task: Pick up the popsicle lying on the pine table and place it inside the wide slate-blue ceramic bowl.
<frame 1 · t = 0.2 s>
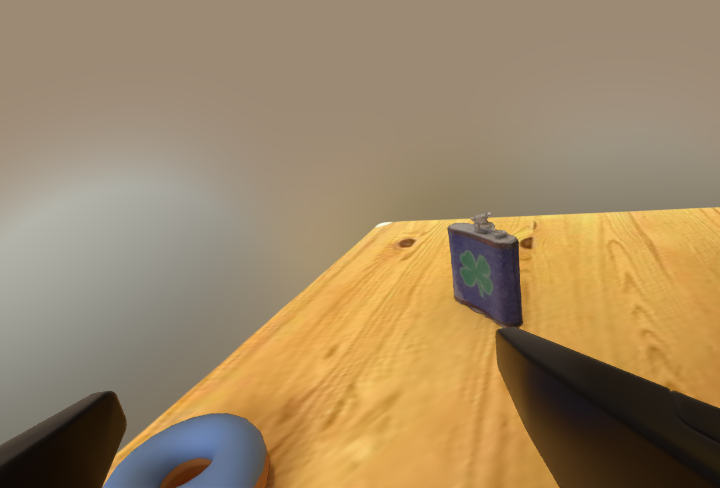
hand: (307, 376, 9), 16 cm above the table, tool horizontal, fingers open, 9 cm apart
flask: (487, 310, 41), on the table
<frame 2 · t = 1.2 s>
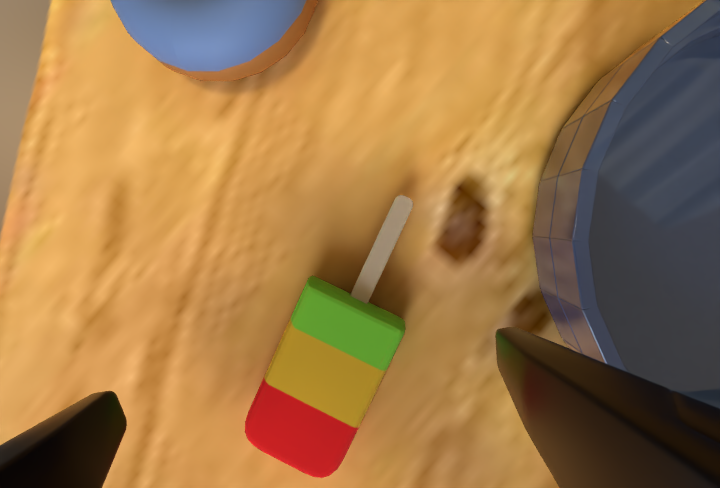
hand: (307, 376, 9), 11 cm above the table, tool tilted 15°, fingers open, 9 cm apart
doughnut: (238, 1, 20), on the table
popsicle: (347, 324, 21), on the table
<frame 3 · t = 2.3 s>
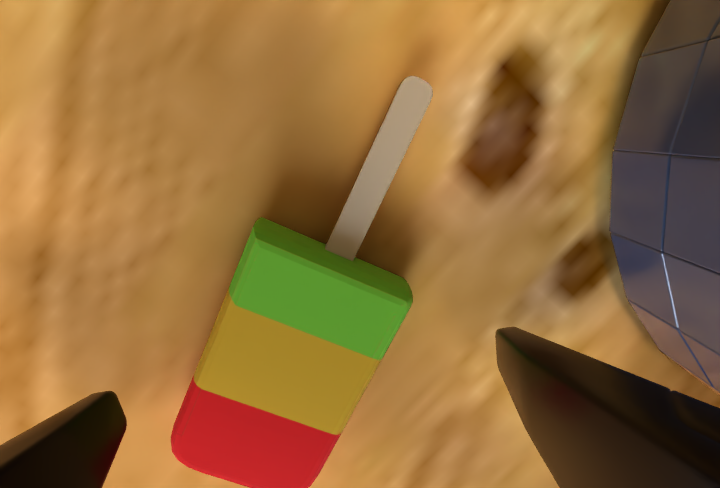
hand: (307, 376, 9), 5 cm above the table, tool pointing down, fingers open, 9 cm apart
popsicle: (319, 287, 14), on the table
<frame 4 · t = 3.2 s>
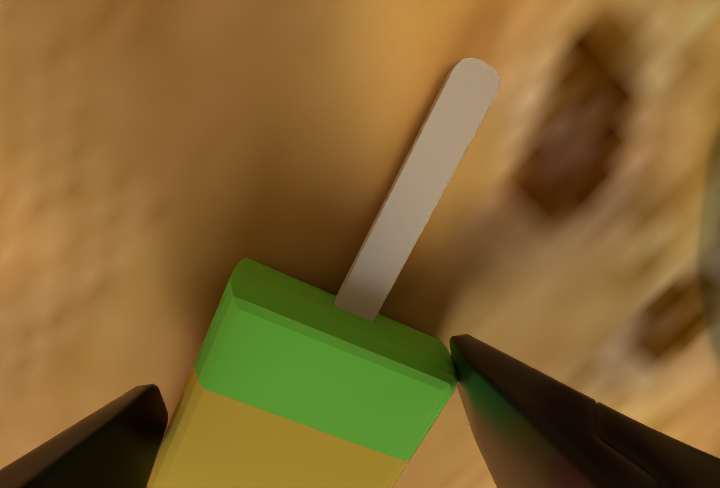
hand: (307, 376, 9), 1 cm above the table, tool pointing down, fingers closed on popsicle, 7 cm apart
popsicle: (324, 348, 10), on the table, touching gripper
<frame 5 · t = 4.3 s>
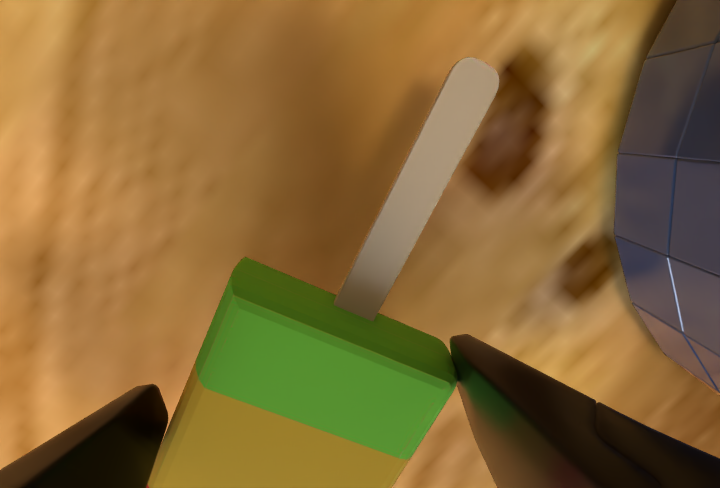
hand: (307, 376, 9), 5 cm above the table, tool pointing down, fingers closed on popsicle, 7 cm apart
popsicle: (324, 348, 10), point 3 cm above the table, touching gripper
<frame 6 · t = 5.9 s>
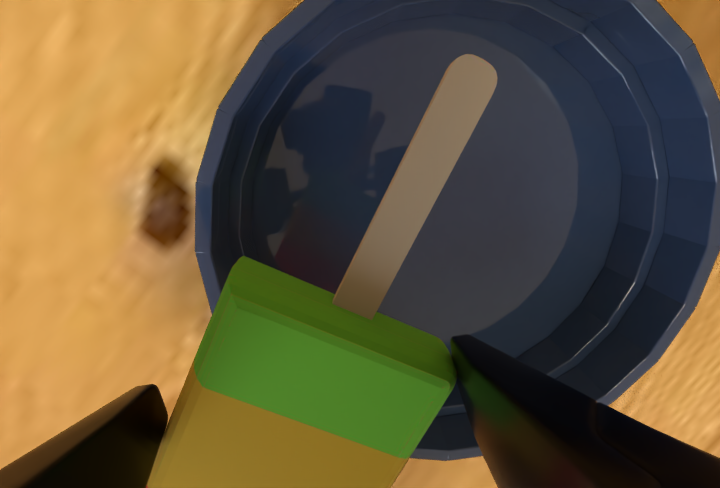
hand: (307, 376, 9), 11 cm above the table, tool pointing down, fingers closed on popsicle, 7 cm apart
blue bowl: (435, 220, 19), on the table
popsicle: (323, 347, 10), point 10 cm above the table, touching gripper
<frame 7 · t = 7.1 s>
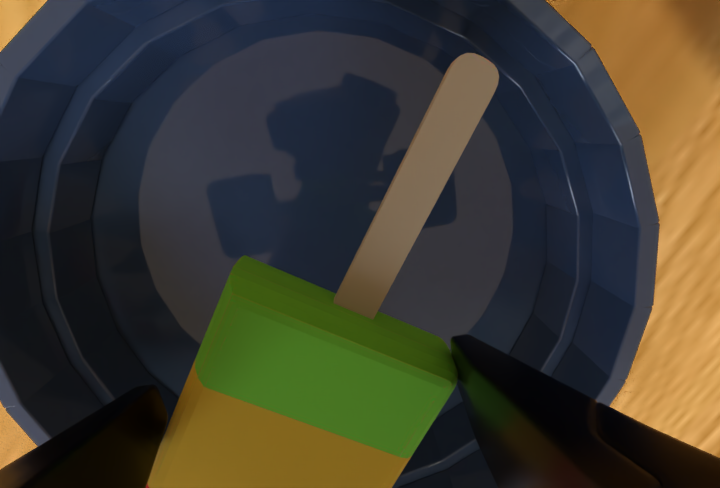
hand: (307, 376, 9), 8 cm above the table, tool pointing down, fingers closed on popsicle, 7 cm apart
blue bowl: (325, 263, 16), on the table
popsicle: (324, 346, 10), point 6 cm above the table, touching gripper
when the fingers open (2 cm above the table, at t = 9.3 s): popsicle stays where it is, resting on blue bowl.
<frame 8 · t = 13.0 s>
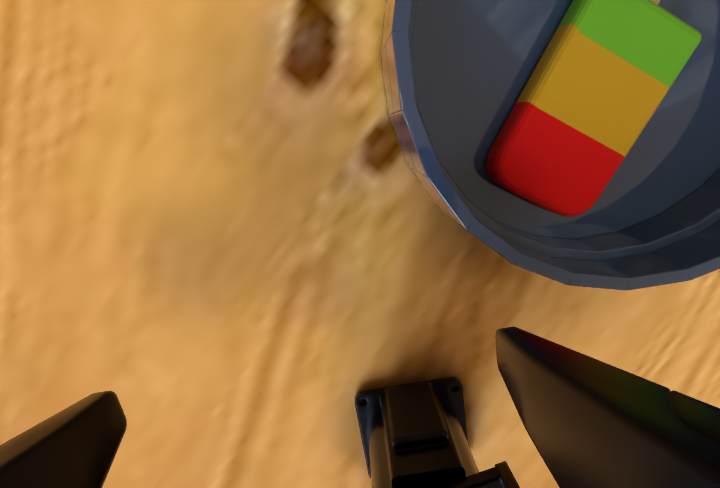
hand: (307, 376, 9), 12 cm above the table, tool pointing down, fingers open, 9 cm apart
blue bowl: (591, 52, 18), on the table
popsicle: (602, 52, 18), resting on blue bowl
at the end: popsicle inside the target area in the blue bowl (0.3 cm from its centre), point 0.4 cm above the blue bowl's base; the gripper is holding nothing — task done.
